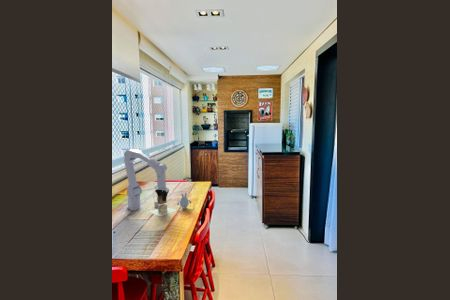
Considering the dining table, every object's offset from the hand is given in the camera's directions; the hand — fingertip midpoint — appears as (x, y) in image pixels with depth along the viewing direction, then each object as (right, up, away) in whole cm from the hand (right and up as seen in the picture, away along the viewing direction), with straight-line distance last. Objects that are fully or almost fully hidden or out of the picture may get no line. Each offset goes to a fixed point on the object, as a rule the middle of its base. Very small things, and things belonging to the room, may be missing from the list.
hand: (162, 200), depth 167 cm
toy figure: (+15, -8, +5) cm, 18 cm away
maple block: (0, -8, +1) cm, 8 cm away
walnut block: (0, -2, 0) cm, 2 cm away
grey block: (-5, -8, +11) cm, 15 cm away
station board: (0, -9, +1) cm, 9 cm away
